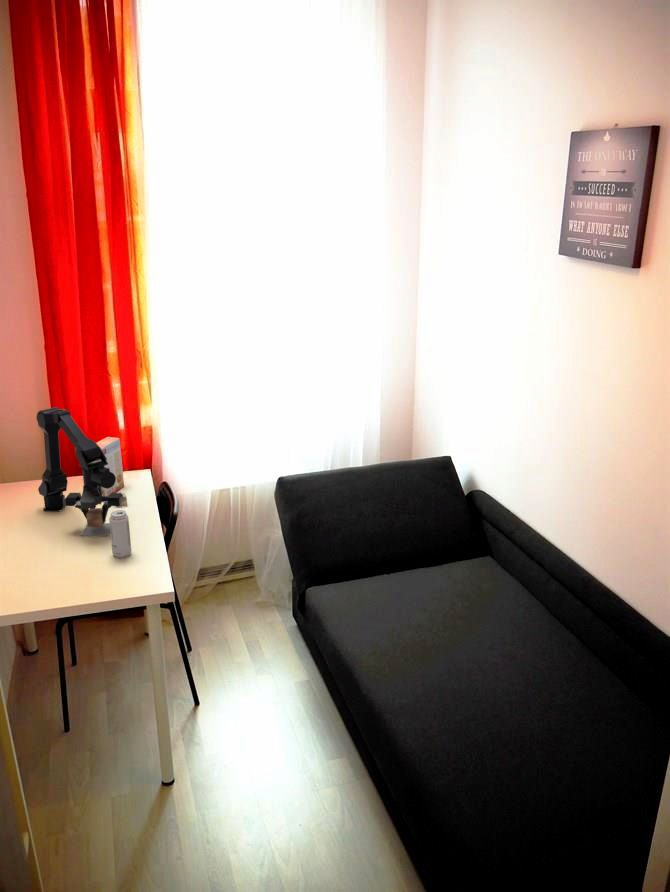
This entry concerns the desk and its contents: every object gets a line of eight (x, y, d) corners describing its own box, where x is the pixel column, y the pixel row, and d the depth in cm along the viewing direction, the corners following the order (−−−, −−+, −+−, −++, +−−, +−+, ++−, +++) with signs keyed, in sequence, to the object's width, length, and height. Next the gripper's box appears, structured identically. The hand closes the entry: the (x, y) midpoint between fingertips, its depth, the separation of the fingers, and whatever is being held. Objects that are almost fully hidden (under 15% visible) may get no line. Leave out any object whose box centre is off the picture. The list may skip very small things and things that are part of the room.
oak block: (116, 507, 282) (115, 498, 280) (115, 503, 285) (114, 494, 284) (127, 506, 283) (126, 496, 282) (126, 502, 287) (125, 492, 285)
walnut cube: (87, 527, 260) (86, 514, 259) (91, 520, 265) (90, 508, 263) (102, 527, 260) (100, 514, 259) (105, 521, 265) (104, 508, 263)
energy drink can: (111, 551, 248) (107, 510, 243) (130, 549, 250) (126, 508, 245) (113, 560, 243) (109, 518, 238) (132, 557, 245) (128, 515, 240)
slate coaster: (80, 536, 259) (80, 534, 259) (88, 524, 267) (88, 523, 267) (106, 536, 259) (106, 534, 259) (113, 524, 268) (113, 523, 267)
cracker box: (111, 484, 302) (107, 435, 295) (124, 486, 301) (120, 437, 294) (91, 497, 290) (85, 447, 283) (104, 500, 288) (99, 449, 281)
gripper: (57, 489, 249) (62, 531, 254) (113, 489, 250) (117, 531, 255) (67, 476, 260) (72, 517, 265) (121, 477, 260) (125, 517, 265)
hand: (96, 521), depth 262 cm, fingers closed on walnut cube, 5 cm apart
